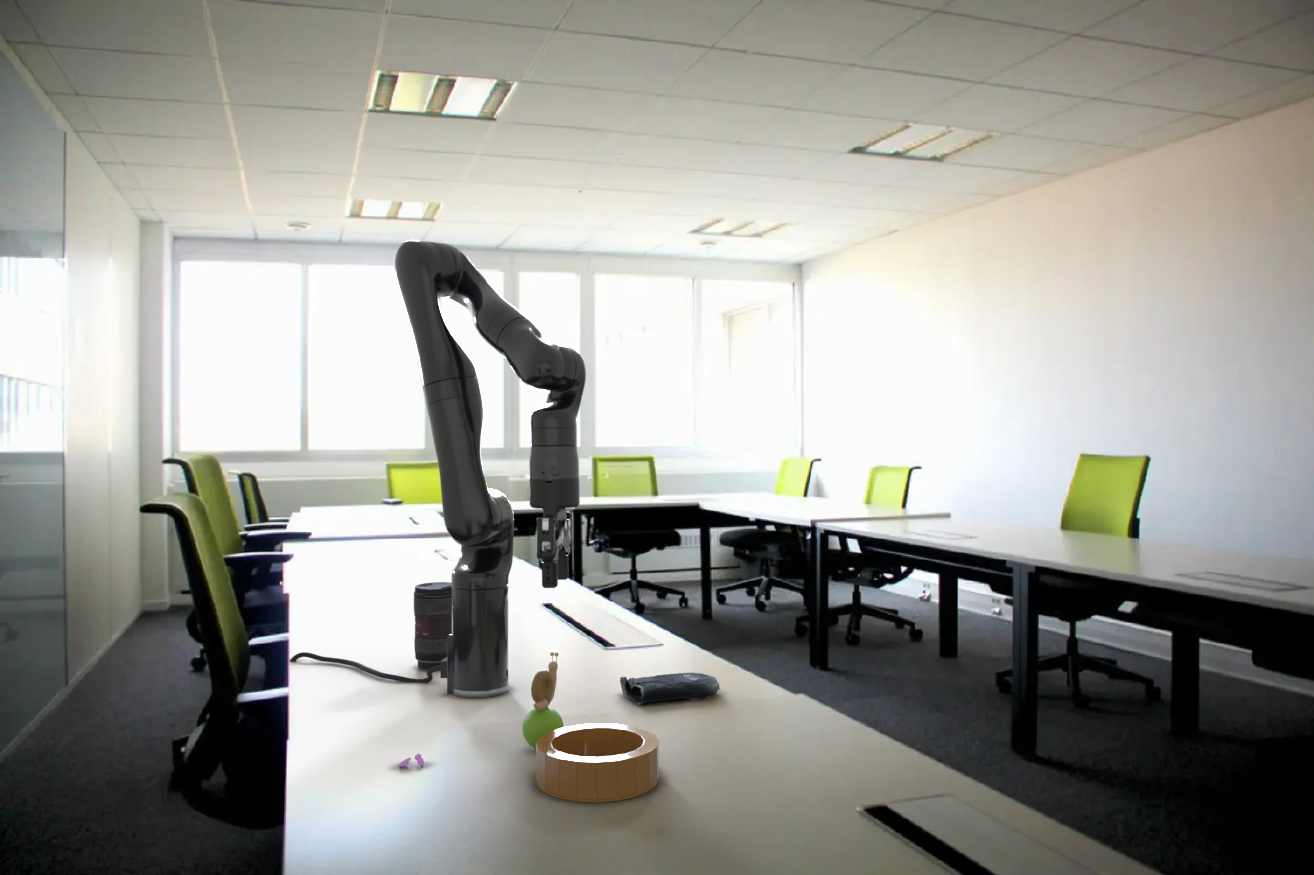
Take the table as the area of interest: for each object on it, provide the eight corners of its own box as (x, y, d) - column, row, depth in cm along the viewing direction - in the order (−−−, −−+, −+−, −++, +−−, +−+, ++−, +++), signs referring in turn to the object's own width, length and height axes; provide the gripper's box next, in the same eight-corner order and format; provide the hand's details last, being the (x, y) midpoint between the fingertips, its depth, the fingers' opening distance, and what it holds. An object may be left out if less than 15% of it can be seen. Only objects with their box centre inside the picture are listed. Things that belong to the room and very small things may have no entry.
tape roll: (523, 799, 103) (523, 759, 103) (551, 757, 117) (551, 721, 117) (651, 804, 101) (651, 764, 101) (663, 760, 116) (663, 725, 116)
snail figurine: (573, 742, 123) (573, 653, 123) (552, 757, 117) (552, 663, 117) (537, 738, 125) (537, 650, 125) (515, 752, 119) (515, 660, 119)
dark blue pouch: (644, 718, 139) (730, 693, 145) (638, 681, 139) (723, 659, 146) (623, 710, 147) (704, 688, 154) (617, 676, 148) (698, 655, 154)
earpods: (404, 779, 113) (404, 775, 112) (397, 768, 114) (397, 763, 112) (425, 766, 115) (426, 761, 113) (419, 755, 115) (419, 750, 114)
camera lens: (404, 669, 165) (404, 586, 165) (431, 660, 172) (431, 580, 172) (441, 673, 162) (441, 589, 162) (467, 663, 169) (467, 583, 169)
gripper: (540, 475, 145) (541, 577, 145) (518, 477, 131) (520, 590, 131) (586, 474, 144) (588, 577, 144) (570, 476, 130) (571, 590, 130)
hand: (555, 583), depth 137 cm, fingers open, 8 cm apart
